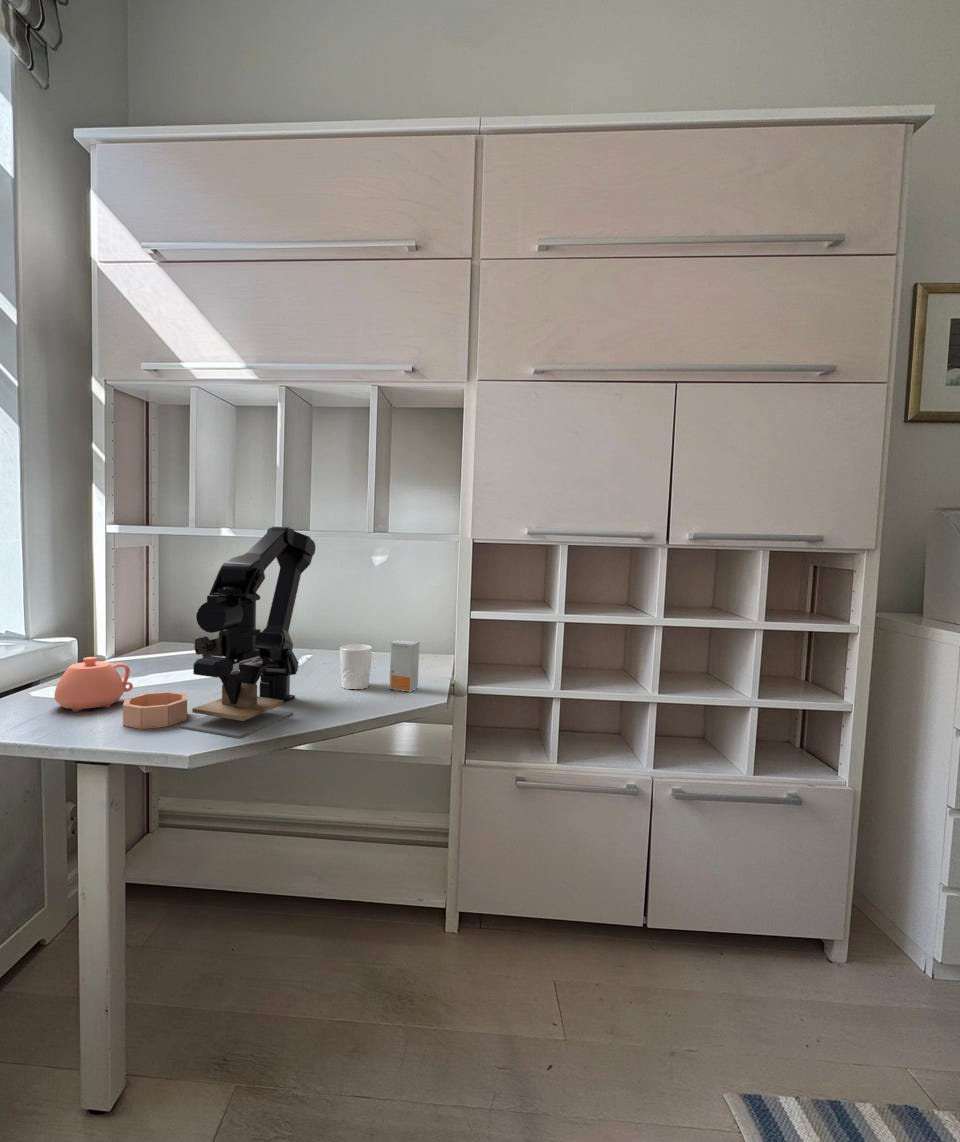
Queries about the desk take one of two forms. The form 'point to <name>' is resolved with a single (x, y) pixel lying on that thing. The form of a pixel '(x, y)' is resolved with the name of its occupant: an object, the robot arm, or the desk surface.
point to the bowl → (155, 709)
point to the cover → (239, 704)
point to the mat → (235, 723)
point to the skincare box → (404, 665)
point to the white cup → (355, 666)
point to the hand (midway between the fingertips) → (239, 701)
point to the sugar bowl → (91, 685)
